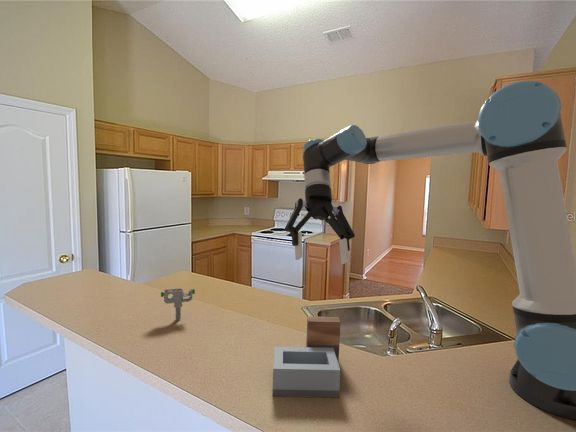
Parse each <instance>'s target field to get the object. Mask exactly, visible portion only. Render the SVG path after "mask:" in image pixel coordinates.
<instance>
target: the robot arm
mask: <svg viewBox="0 0 576 432" xmlns="http://www.w3.org/2000/svg"><path fill="white" fill-rule="evenodd" d="M561 110H562V102H561V98H560V95H558V93H557V92H556V91H555V90H554V89H553V88H552V87H550V86H549V85H548V84H545V83H544V82H541V81H537V80H520V81H516V82H512V83H509V84H506V85H505V86H503V87H500V88H499V89H497V90H496V91H495V92H493V93H492V94H491V95H490V96H489V97H488V98H487V99H486V100H485V101H484V103H483V104H482V105H481V108H480V109H479V113H478V116H477V120H472V121H465V122H460V123H453V124H452V123H451V124H447V125H445V124H444V125H440V126H435V127H427V128H421V129H415V130H409V131H402V132H396V133H390V134H384V135H379V136H372V137H366V134H365V133H364V131H363V129H361V128H360V126H358V125H356V124H351V125H349V126H347V127H345V128H342V129H340V130H339V131H338V132H336V133H335V134H333V135H331V136H330V137H328V138H327V139H325V140H324V139H322V138H314V139H309V140H308V141H306V142H305V143H304V144H303V147H302V148H303V150H302V151H303V152H302V161H303V171H304V172H303V175H304V176H303V179H304V195H305V196H304V197H305V201H304V200H303V199H302V198H299V199H298V200H297V201H296V202H295V203H294V209H293V211H292V214H291V215H290V217H289V219H288V221H287V224H286V225H285V226H284V231H285V232H286V233H287V232H288V233H289V235H290V236H291V245H292V246H293V247H294V254H295V255H294V256H295V258H294V259H295V260H297V261H299V260H300V259H302V258H303V257H304V254H303V233H302V231H301V232H300V230H301V229H302V228H303V227H304V226H305V224H306V223H307V222H308V221H309V220H310V219H311V218H312V219H313V220H319V221H325V223H326V224H328V225H329V227H331V229H332V230H333V231H334V233H336V235H337V236H338V238H339V239H340V240H339V241H338V243H339V254H340V265H345V264H347V263H349V262H350V258H349V257H350V256H349V252H350V251H351V248H350V240H352V239H353V238H355V237H356V236H355V232H354V230H353V229H352V227H351V226H350V224H349V221H348V219H347V218H346V216H345V214H344V211H343V206H342V205H338V206H333V204H332V201H333V200H332V199H333V198H332V196H333V195H332V193H333V192H332V184H331V175H330V170H331V167H333V166H336V165H337V164H339V163H341V162H343V161H350V162H356V163H360V164H364V165H374V164H377V163H379V162H386V161H387V162H389V161H398V160H399V161H400V160H409V159H418V158H420V159H421V158H430V157H431V158H432V157H442V156H451V155H462V154H463V155H464V154H473V153H478V154H480V155H481V156H483V157H484V156H485V157H486V156H487V161H488V165H489V166H490V167H491V168H492V169H494V170H496V171H498V172H499V177H500V182H501V187H502V194H503V195H502V196H503V200H504V206H505V213H506V219H507V224H508V225H507V226H508V229H509V236H510V241H511V247H512V254H513V260H514V265H515V272H516V276H517V277H516V278H517V284H518V290H519V294H518V296H517V297H515V298H514V299H513V300H512V302H511V305H512V312H513V318H514V324H515V330H516V331H515V332H516V335H515V338H514V343H513V345H514V350H515V354H516V357H517V359H516V361H515V362H514V364H513V366H512V367H511V369H510V371H509V380H508V383H509V386H510V387H511V389H512V390H513V392H515V393H516V394H517V395H518V396H519V397H520V398H522V399H523V400H525V401H527V402H528V403H530V404H531V405H533V406H535V407H537V408H539V409H540V410H543V411H546V412H547V413H550V414H553V415H556V416H558V417H562V418H566V419H569V420H575V421H576V257H575V252H574V247H573V242H572V241H573V240H572V235H571V230H570V224H569V219H568V214H567V208H566V207H567V206H566V201H565V198H564V197H565V196H564V191H563V186H562V180H561V179H562V178H561V173H560V168H559V164H558V163H559V162H558V161H559V160H560V158H561V157H562V156H563V155H564V154H565V153H566V152H567V151H568V148H567V143H566V142H567V141H566V136H565V135H566V134H565V130H564V125H563V119H562V114H561V112H562V111H561ZM303 208H305V209H306V211H307V212H306V214H305V215H304V216H303V218H301V219H300V221H299V222H298V223H297V224H296V225H295V223H296V222H297V219H298V217H299V215H300V214H301V211H302V210H303ZM294 225H295V226H294Z"/></svg>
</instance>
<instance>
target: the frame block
mask: <svg viewBox="0 0 576 432" xmlns="http://www.w3.org/2000/svg"><path fill="white" fill-rule="evenodd" d="M273 352H274V353H273V371H272V397H293V398H294V397H296V398H297V397H298V398H300V397H301V398H302V397H305V398H306V397H307V398H340V388H341V386H340V384H341V369H340V365H339V364H338V361H337V358H336V355H335V352H334V349H333V348H315V347H306V346H305V347H304V346H274V351H273Z"/></svg>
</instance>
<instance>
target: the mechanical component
mask: <svg viewBox="0 0 576 432" xmlns="http://www.w3.org/2000/svg"><path fill="white" fill-rule="evenodd" d="M183 290H184V289H183V288H171V289H163V291H160V297H161V298H163V301H164V303H165V304H174V305H173V308H175V321H177V322H179V321H181V318H182V315H181V314H182V313H181V311H182V310H181V308H182V307H183V303H188V302H191V301H192V300H193V295H195V293H196V290H195V289H194V288H192V287H191V288H189V290H188V292H185V291H183ZM170 295H172V296H170Z"/></svg>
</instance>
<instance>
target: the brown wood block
mask: <svg viewBox="0 0 576 432" xmlns="http://www.w3.org/2000/svg"><path fill="white" fill-rule="evenodd" d="M340 340H341V320H340V317H339V316H313V315H312V316H309V315H308V316H307V321H306V340H305V341H306V342H305V345H306V346H305V347H315V348H333V349H334V352H335V355H336V358H337V361H338V364H339V360H340V358H339V357H340V342H341V341H340Z"/></svg>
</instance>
